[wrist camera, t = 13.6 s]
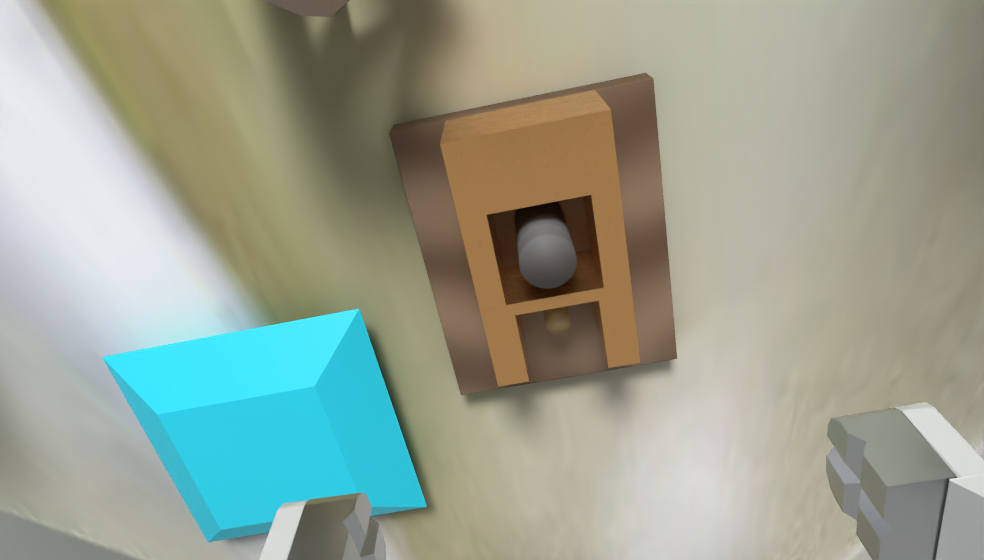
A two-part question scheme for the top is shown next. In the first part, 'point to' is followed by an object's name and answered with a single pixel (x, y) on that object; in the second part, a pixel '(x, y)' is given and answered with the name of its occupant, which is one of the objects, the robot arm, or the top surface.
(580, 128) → the wooden notched block
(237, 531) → the prism
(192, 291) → the top surface
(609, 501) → the top surface
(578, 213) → the flange base
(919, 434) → the robot arm
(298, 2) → the toy
